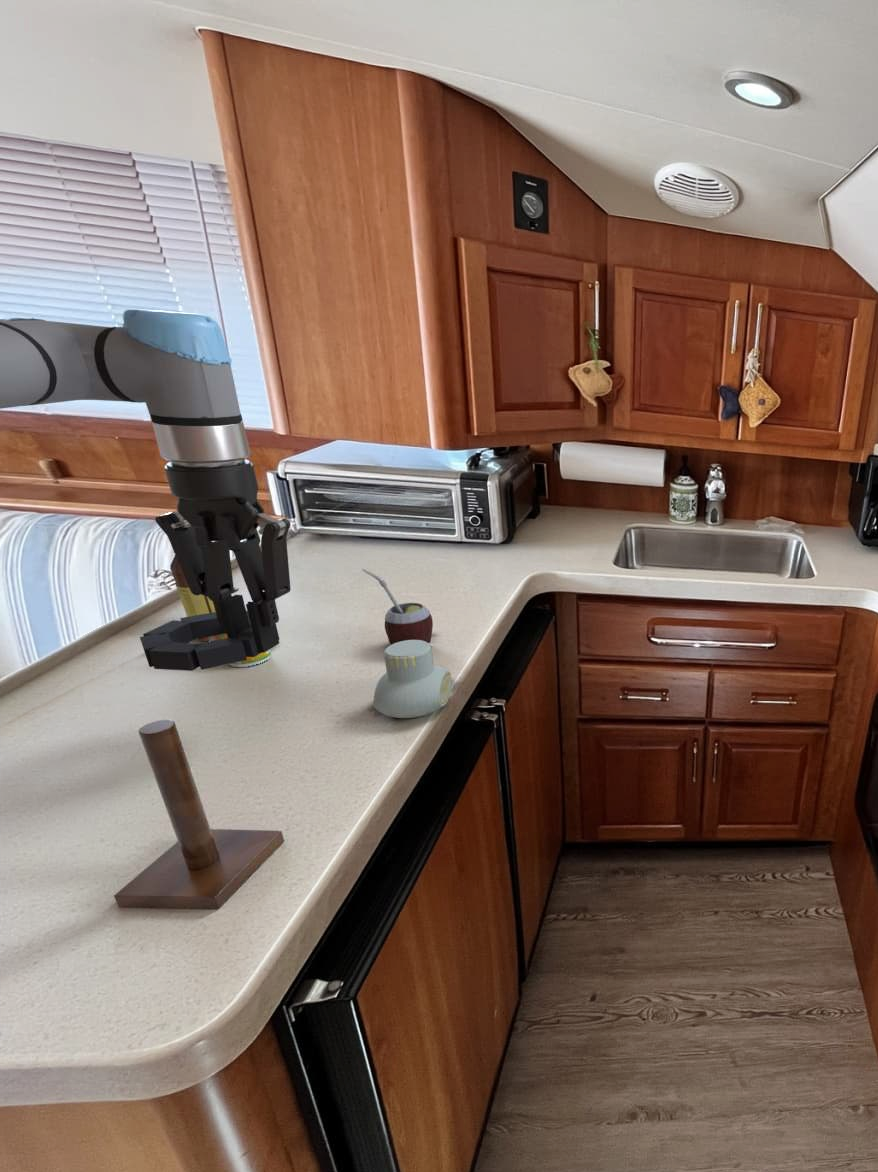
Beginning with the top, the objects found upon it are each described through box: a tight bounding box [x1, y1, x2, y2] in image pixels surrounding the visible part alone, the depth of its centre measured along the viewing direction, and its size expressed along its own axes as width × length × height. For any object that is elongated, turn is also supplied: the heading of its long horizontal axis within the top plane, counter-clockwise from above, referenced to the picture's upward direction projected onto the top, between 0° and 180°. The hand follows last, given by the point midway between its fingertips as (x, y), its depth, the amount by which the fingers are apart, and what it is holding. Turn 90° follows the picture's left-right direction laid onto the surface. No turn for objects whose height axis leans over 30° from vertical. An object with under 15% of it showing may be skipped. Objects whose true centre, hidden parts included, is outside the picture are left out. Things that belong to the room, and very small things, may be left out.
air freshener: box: [373, 640, 452, 719], centre depth 93 cm, size 11×8×10 cm
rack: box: [113, 719, 285, 910], centre depth 61 cm, size 9×9×18 cm
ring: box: [139, 611, 281, 672], centre depth 79 cm, size 12×12×2 cm
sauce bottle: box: [169, 554, 222, 643], centre depth 106 cm, size 6×6×20 cm
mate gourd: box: [361, 568, 434, 645], centre depth 108 cm, size 8×8×15 cm
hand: (255, 646), depth 80 cm, fingers closed on ring, 2 cm apart
